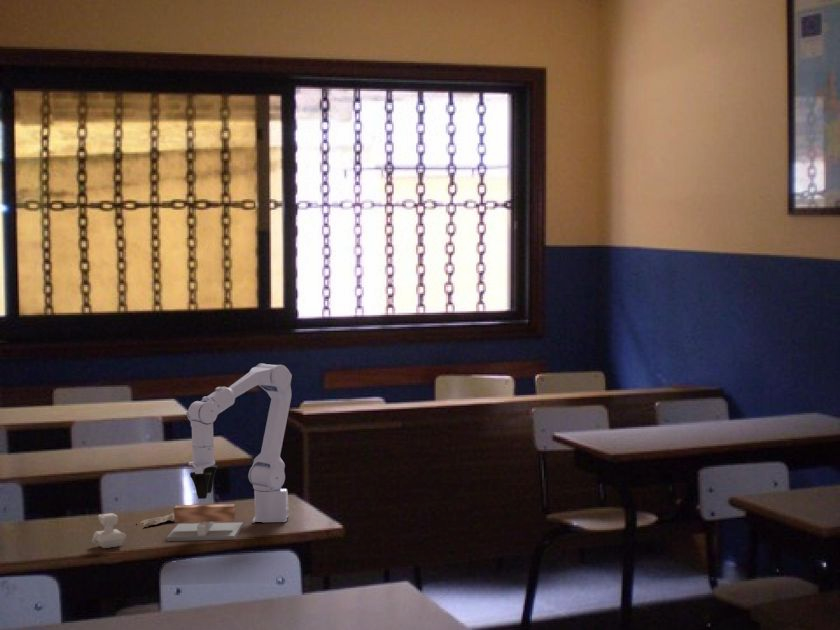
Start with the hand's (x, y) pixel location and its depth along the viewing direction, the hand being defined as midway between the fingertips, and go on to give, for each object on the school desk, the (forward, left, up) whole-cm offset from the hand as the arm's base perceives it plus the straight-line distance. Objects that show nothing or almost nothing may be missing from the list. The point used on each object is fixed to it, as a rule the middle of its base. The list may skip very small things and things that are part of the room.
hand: (204, 495), depth 346 cm
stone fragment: (+13, -17, -11) cm, 24 cm away
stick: (0, 0, -7) cm, 7 cm away
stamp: (+23, +13, -11) cm, 28 cm away
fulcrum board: (0, 0, -10) cm, 10 cm away
